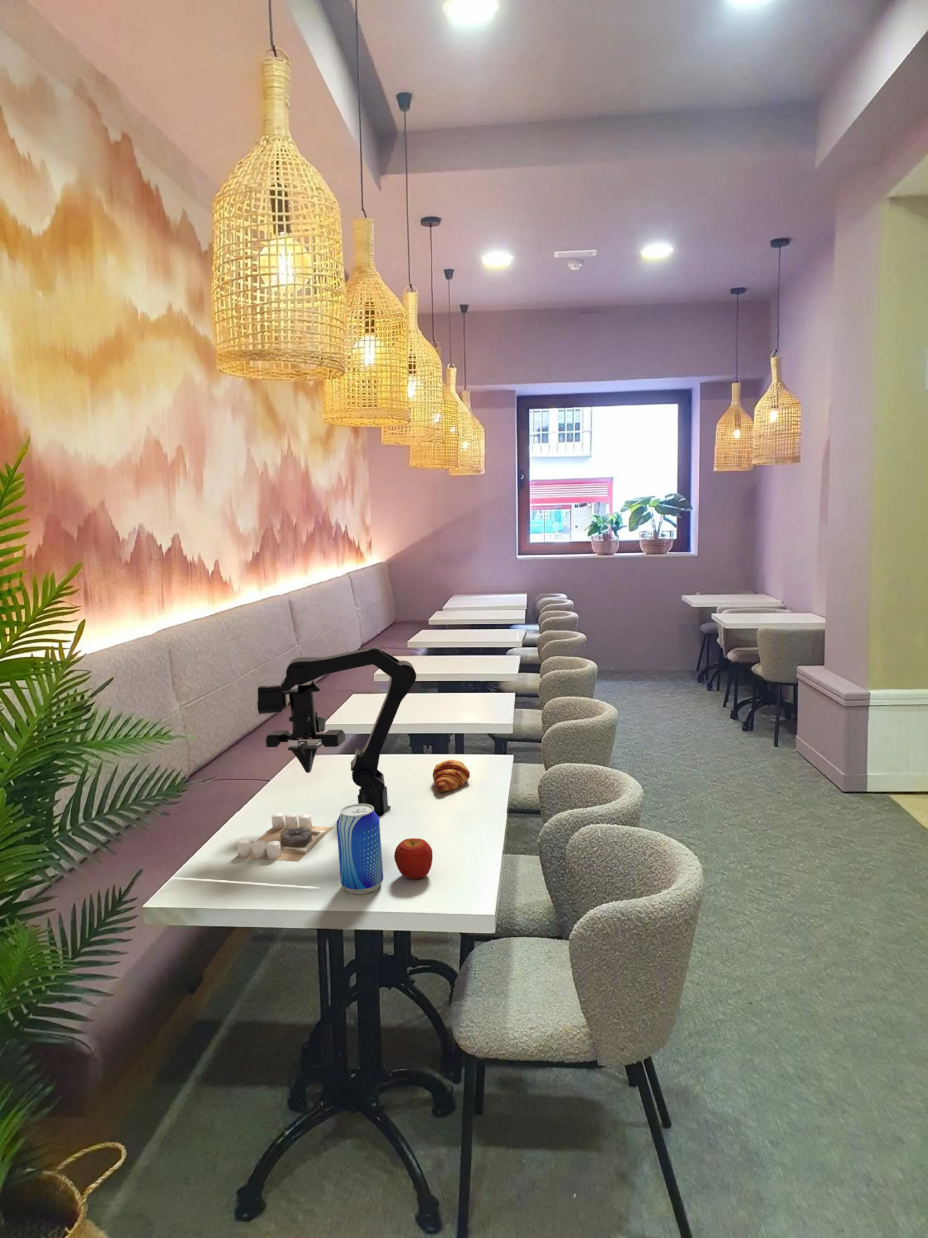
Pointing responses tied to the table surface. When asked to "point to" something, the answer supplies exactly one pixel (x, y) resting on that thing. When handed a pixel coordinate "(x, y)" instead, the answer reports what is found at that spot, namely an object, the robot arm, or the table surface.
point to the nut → (296, 837)
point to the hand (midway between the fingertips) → (308, 772)
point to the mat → (291, 852)
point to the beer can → (359, 849)
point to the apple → (413, 858)
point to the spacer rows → (273, 847)
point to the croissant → (450, 775)
